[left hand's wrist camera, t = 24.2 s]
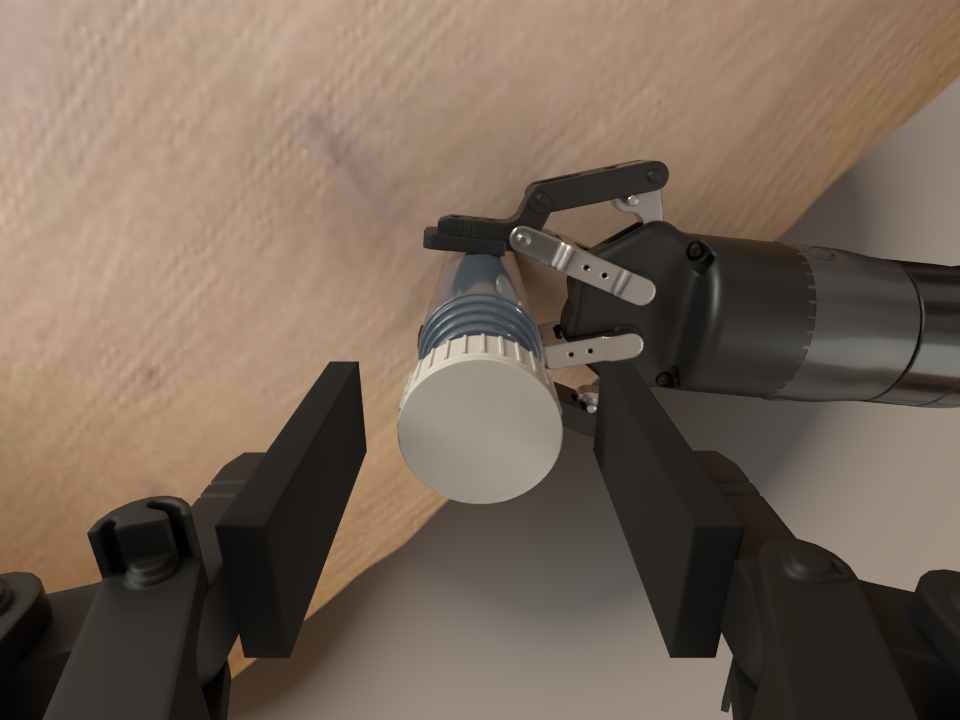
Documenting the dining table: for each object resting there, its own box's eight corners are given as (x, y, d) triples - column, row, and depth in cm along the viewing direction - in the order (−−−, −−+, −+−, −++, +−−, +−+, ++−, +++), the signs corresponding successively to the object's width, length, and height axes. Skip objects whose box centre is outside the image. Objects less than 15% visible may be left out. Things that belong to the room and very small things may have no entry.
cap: (499, 491, 16) (501, 531, 14) (377, 422, 15) (364, 455, 13) (587, 385, 14) (600, 415, 13) (458, 302, 14) (455, 323, 12)
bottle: (470, 313, 33) (459, 512, 15) (430, 255, 31) (364, 399, 14) (529, 275, 32) (592, 439, 14) (490, 214, 31) (505, 310, 13)
